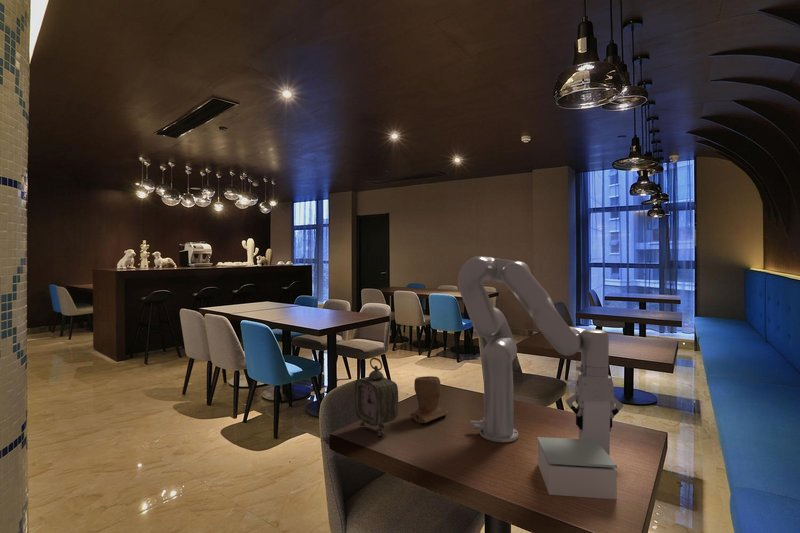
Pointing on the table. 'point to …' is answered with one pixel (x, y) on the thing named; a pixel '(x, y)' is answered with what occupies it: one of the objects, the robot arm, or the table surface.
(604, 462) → the box lid
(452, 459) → the table surface
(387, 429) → the table surface
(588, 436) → the milk carton
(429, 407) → the brown upright piece
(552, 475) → the pastry box
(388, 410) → the tabletop clock
